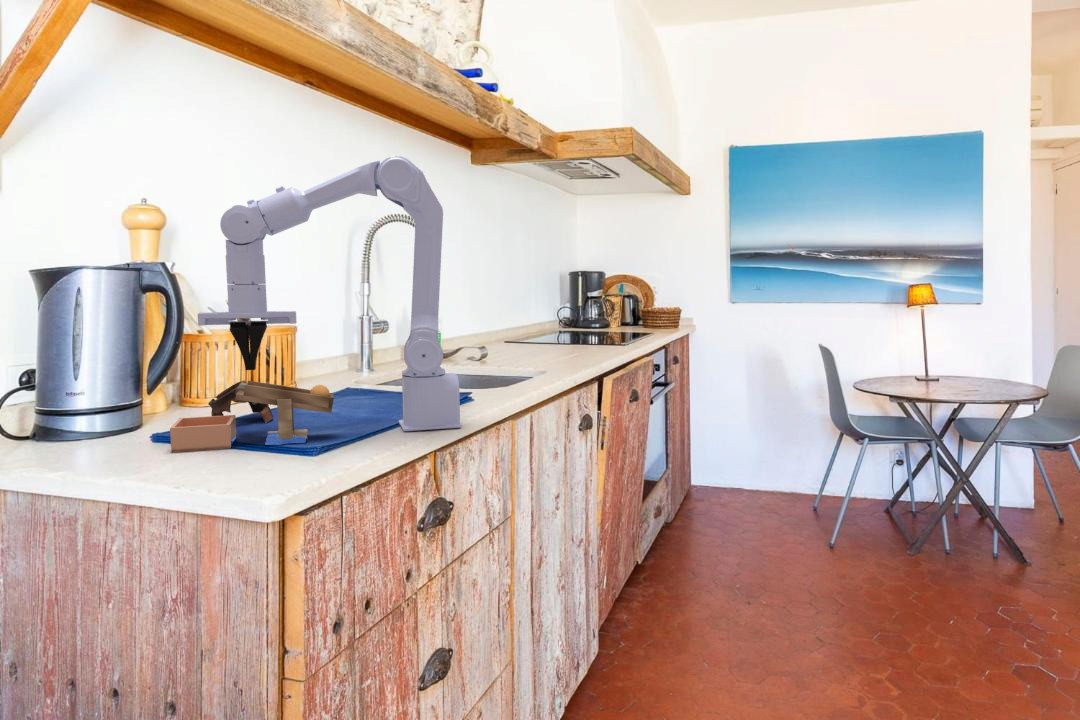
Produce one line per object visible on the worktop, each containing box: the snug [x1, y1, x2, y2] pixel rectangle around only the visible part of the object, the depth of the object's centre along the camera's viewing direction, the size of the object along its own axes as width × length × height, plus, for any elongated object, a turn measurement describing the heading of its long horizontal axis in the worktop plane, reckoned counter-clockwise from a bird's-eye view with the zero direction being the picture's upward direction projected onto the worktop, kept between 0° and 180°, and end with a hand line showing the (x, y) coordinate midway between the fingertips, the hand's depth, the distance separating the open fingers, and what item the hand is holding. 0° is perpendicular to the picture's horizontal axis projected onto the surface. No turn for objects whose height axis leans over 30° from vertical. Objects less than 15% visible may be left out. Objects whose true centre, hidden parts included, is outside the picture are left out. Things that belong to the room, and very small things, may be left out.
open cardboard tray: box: [169, 414, 237, 454], centre depth 110 cm, size 8×8×4 cm
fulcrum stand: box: [267, 399, 308, 439], centre depth 113 cm, size 6×8×7 cm
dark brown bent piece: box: [208, 380, 274, 423], centre depth 129 cm, size 12×10×8 cm
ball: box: [310, 384, 331, 397], centre depth 114 cm, size 3×3×3 cm
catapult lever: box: [235, 380, 335, 414], centre depth 115 cm, size 14×11×2 cm
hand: (250, 369), depth 116 cm, fingers closed
